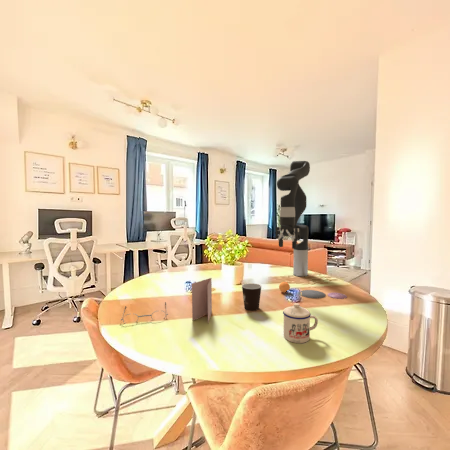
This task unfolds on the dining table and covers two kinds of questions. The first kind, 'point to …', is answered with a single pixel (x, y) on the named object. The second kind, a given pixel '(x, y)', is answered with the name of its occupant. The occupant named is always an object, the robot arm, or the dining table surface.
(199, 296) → the greeting card
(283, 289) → the ball
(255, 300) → the coffee mug
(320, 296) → the disc
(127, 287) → the dining table surface
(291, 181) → the robot arm
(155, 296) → the dining table surface
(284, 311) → the teacup with lid
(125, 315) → the eyeglasses
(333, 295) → the disc
